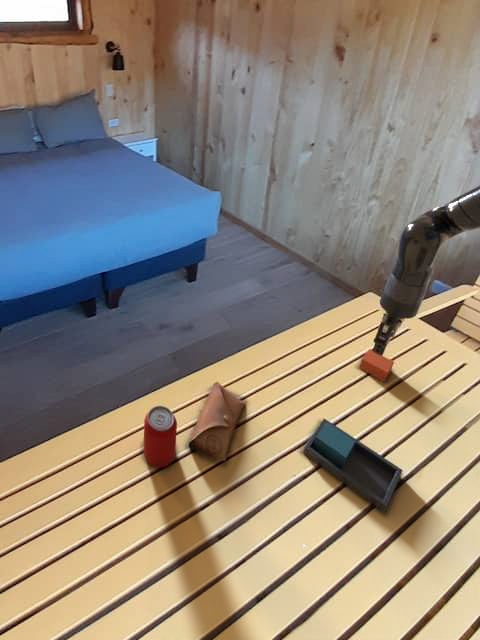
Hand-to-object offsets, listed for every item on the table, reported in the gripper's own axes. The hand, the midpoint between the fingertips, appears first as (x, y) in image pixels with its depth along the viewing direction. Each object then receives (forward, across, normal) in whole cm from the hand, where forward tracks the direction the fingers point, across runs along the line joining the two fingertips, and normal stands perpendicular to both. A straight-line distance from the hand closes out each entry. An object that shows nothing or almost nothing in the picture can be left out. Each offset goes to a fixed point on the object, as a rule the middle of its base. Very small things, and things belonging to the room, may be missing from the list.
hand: (383, 343), depth 100 cm
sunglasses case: (+10, -42, +19) cm, 47 cm away
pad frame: (+10, -30, -5) cm, 32 cm away
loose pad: (+10, 0, 0) cm, 10 cm away
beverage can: (+10, -57, +24) cm, 62 cm away
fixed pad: (+9, -30, -1) cm, 31 cm away
